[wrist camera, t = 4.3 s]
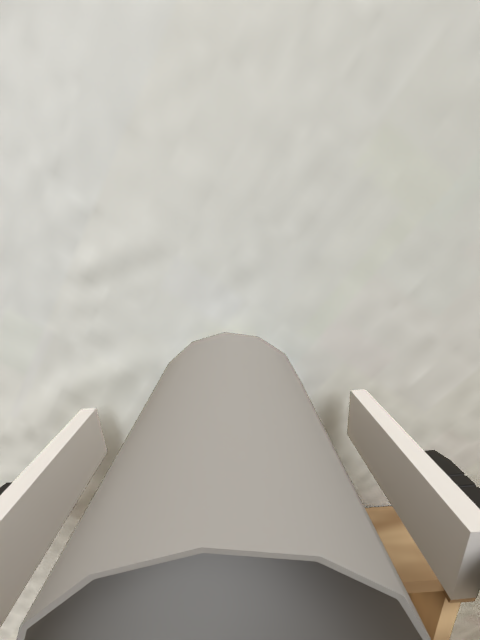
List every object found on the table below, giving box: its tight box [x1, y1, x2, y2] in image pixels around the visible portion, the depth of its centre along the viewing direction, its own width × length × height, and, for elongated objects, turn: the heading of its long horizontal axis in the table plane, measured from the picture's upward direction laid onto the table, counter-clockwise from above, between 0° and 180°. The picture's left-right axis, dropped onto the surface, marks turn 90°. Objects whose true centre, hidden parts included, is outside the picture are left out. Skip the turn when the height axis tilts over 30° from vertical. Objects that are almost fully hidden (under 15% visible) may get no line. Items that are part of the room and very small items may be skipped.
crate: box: [365, 506, 475, 640], centre depth 17 cm, size 15×15×4 cm
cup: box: [17, 332, 431, 640], centre depth 10 cm, size 8×8×10 cm
